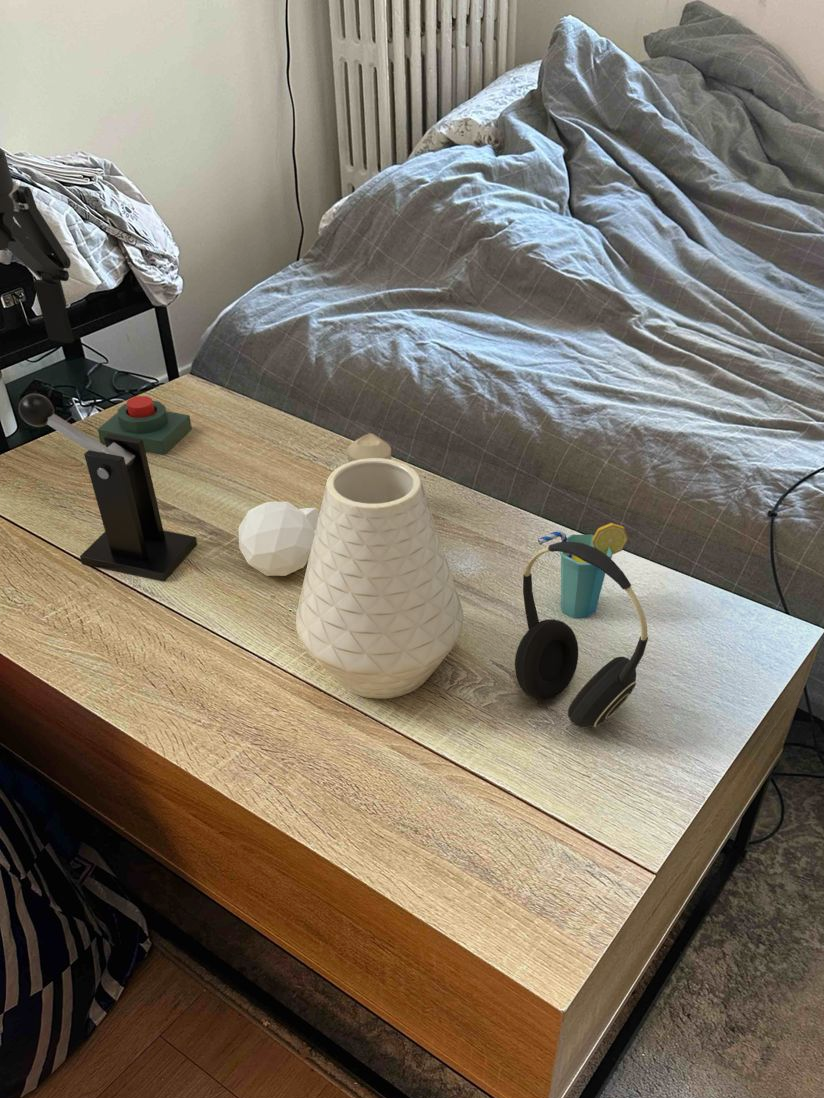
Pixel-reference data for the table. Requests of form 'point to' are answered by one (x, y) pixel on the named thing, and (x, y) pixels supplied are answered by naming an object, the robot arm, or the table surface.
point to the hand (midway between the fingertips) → (25, 365)
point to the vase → (378, 583)
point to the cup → (585, 569)
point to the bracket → (131, 517)
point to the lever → (65, 426)
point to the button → (140, 406)
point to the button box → (149, 428)
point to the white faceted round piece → (277, 537)
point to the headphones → (574, 650)
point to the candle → (368, 448)
